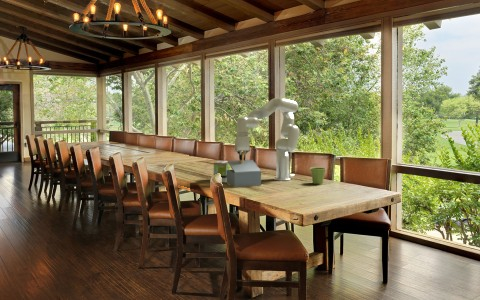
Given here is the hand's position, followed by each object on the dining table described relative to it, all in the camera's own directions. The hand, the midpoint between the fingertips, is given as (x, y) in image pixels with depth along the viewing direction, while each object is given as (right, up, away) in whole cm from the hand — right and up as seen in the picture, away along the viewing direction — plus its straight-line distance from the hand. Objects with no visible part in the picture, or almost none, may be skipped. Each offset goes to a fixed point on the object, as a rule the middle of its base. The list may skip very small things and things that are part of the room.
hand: (242, 159), depth 304 cm
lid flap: (+1, -5, -3) cm, 6 cm away
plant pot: (+55, -18, +6) cm, 58 cm away
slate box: (+1, -18, -1) cm, 18 cm away
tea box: (-15, -16, +15) cm, 27 cm away
